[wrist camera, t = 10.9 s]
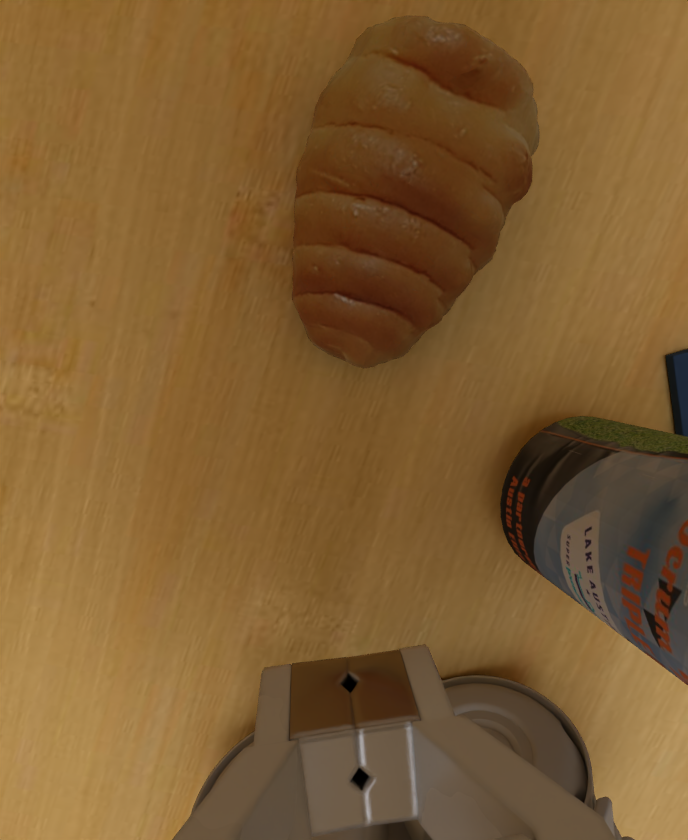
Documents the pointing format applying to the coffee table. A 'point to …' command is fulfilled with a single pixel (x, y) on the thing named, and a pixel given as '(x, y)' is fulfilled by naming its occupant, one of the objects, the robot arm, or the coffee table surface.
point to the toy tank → (509, 723)
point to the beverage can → (608, 526)
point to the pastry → (406, 183)
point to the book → (679, 389)
